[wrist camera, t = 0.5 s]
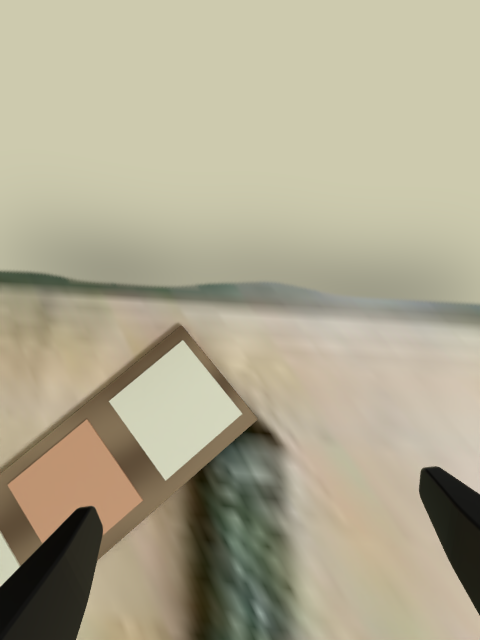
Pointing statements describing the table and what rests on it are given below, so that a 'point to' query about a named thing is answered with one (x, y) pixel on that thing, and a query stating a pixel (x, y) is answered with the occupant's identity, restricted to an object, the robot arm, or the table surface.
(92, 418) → the game board
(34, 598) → the robot arm
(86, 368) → the table surface
